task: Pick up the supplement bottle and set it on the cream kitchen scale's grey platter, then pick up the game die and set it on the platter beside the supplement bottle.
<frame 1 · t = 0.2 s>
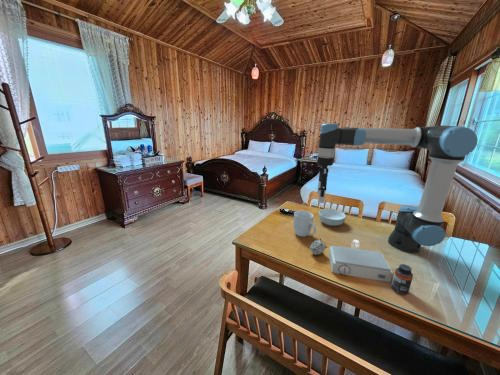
hand: (320, 197, 112), 28 cm above the table, fingers open, 13 cm apart
mug: (302, 235, 131), on the table
cereal bowl: (330, 223, 146), on the table
game die: (316, 254, 113), on the table
supplement bottle: (399, 290, 90), on the table
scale: (356, 267, 103), on the table
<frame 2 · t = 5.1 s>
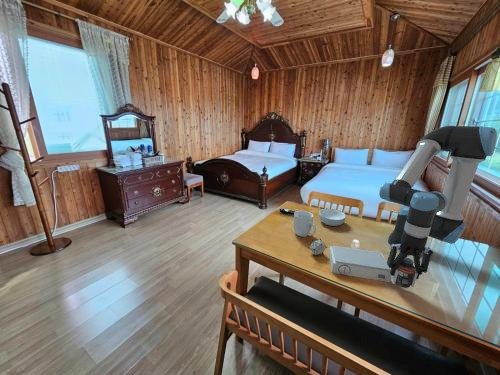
hand: (401, 282, 89), 3 cm above the table, fingers closed on supplement bottle, 6 cm apart
supplement bottle: (401, 283, 90), point 3 cm above the table, touching gripper
everything else where it was.
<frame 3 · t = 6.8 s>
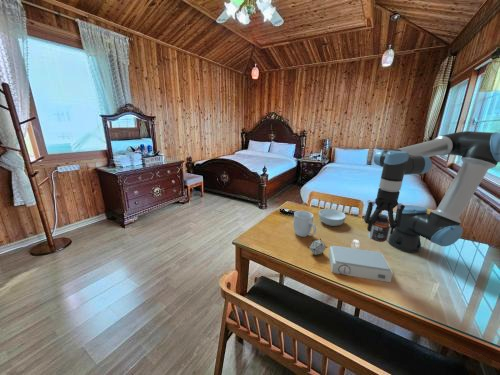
hand: (377, 238, 97), 16 cm above the table, fingers closed on supplement bottle, 6 cm apart
supplement bottle: (377, 239, 97), point 16 cm above the table, touching gripper
everything else where it was.
when the fingers open (7 cm above the table, at t = 8.7 s): supplement bottle stays where it is, resting on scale.
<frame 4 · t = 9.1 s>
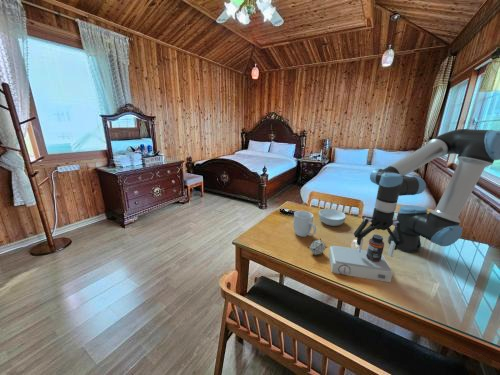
hand: (374, 253, 99), 9 cm above the table, fingers open, 12 cm apart
supplement bottle: (373, 258, 100), point 6 cm above the table, touching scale
everything else where it was.
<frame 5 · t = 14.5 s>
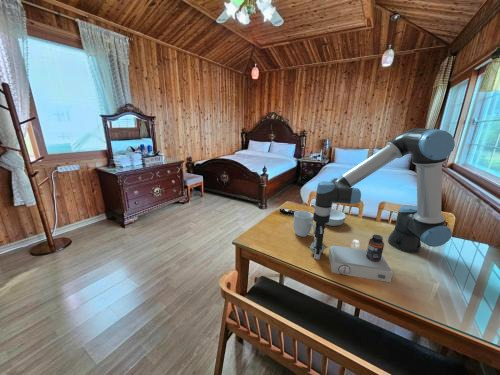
hand: (316, 253, 112), 0 cm above the table, fingers closed on game die, 8 cm apart
game die: (316, 254, 113), on the table, touching gripper
everything else where it was.
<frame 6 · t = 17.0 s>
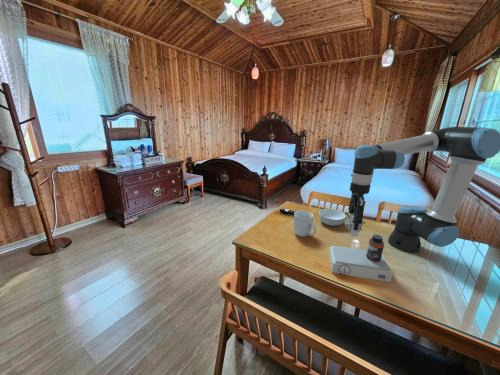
hand: (351, 231, 98), 18 cm above the table, fingers closed on game die, 8 cm apart
game die: (352, 231, 99), point 18 cm above the table, touching gripper
everything else where it was.
when the fingers open (7 cm above the table, at t = 19.3 s): game die stays where it is, resting on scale.
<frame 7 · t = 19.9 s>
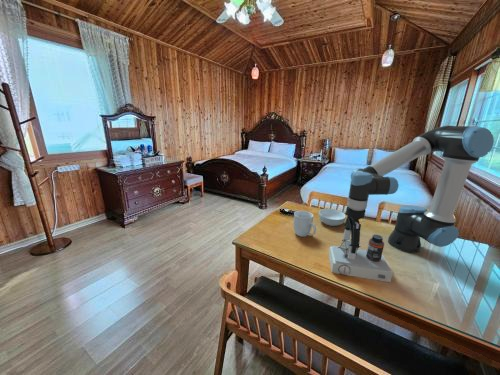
hand: (348, 249, 101), 9 cm above the table, fingers open, 13 cm apart
game die: (347, 254, 103), point 6 cm above the table, touching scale
everything else where it was.
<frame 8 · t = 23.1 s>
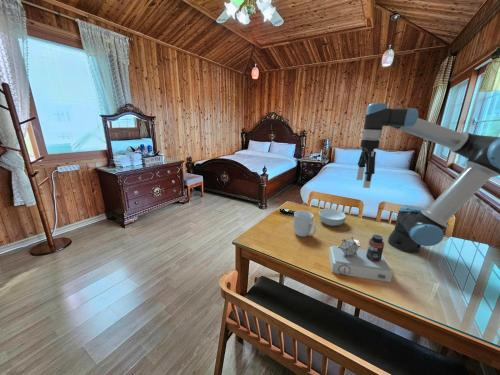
hand: (362, 183, 107), 37 cm above the table, fingers open, 13 cm apart
nothing on the table moved.
at the end: supplement bottle inside the target area on the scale (0.2 cm from its centre), point 5.8 cm above the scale's base; game die inside the target area on the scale (0.4 cm from its centre), point 5.8 cm above the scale's base; supplement bottle tilted 0° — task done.
